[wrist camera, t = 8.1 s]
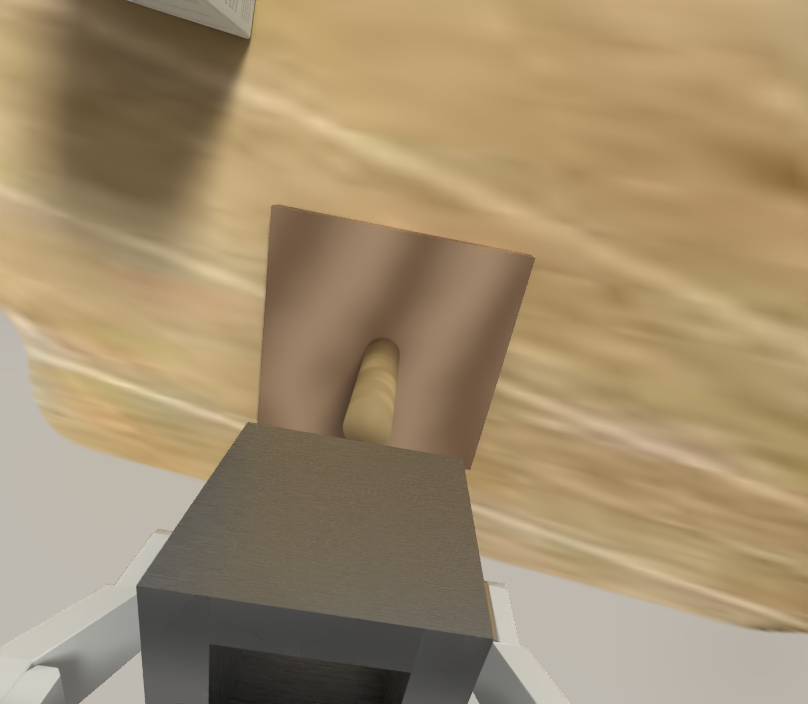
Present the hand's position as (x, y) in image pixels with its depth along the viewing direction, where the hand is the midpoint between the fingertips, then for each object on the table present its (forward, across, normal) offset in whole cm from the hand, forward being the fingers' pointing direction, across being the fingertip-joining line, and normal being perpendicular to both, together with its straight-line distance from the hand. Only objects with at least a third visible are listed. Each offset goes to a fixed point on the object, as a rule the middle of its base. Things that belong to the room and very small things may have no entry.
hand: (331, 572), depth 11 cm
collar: (+2, 0, 0) cm, 2 cm away
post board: (+16, 0, 0) cm, 16 cm away
